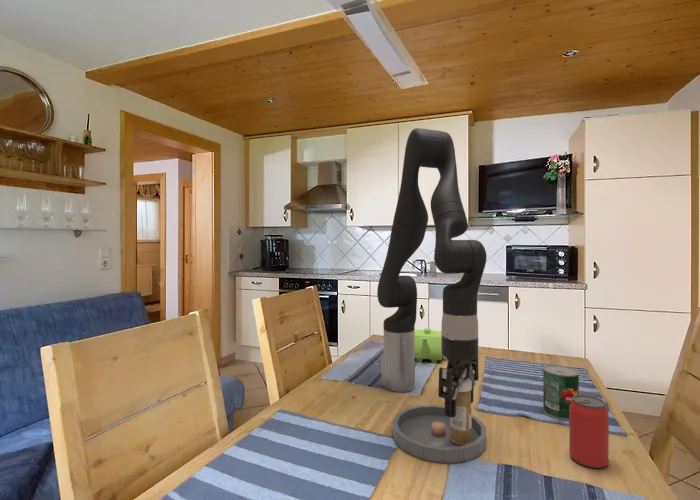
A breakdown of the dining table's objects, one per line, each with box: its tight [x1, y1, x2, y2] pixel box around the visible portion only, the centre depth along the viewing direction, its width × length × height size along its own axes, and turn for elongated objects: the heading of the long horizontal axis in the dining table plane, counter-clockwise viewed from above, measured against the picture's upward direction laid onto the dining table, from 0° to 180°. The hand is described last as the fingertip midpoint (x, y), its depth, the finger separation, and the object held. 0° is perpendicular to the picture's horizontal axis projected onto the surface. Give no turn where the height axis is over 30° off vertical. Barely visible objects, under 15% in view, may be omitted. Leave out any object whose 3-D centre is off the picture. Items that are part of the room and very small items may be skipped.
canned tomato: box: [542, 364, 580, 421], centre depth 96 cm, size 8×8×11 cm
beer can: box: [568, 394, 610, 469], centre depth 76 cm, size 7×7×12 cm
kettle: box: [414, 328, 444, 364], centre depth 140 cm, size 15×14×11 cm
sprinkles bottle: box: [450, 378, 472, 446], centre depth 82 cm, size 5×5×13 cm
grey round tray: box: [392, 404, 487, 464], centre depth 85 cm, size 20×20×3 cm
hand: (459, 408), depth 82 cm, fingers open, 8 cm apart
